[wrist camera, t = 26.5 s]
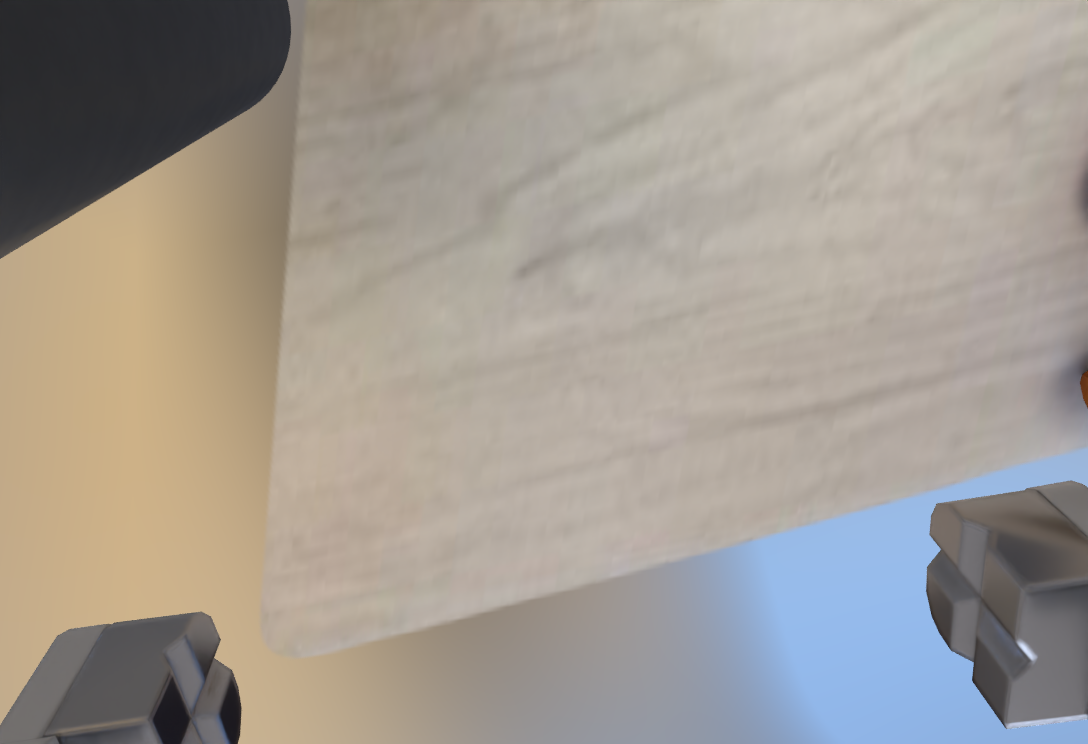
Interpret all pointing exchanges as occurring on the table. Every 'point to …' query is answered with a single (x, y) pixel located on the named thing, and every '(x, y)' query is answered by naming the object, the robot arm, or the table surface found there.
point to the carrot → (1084, 387)
